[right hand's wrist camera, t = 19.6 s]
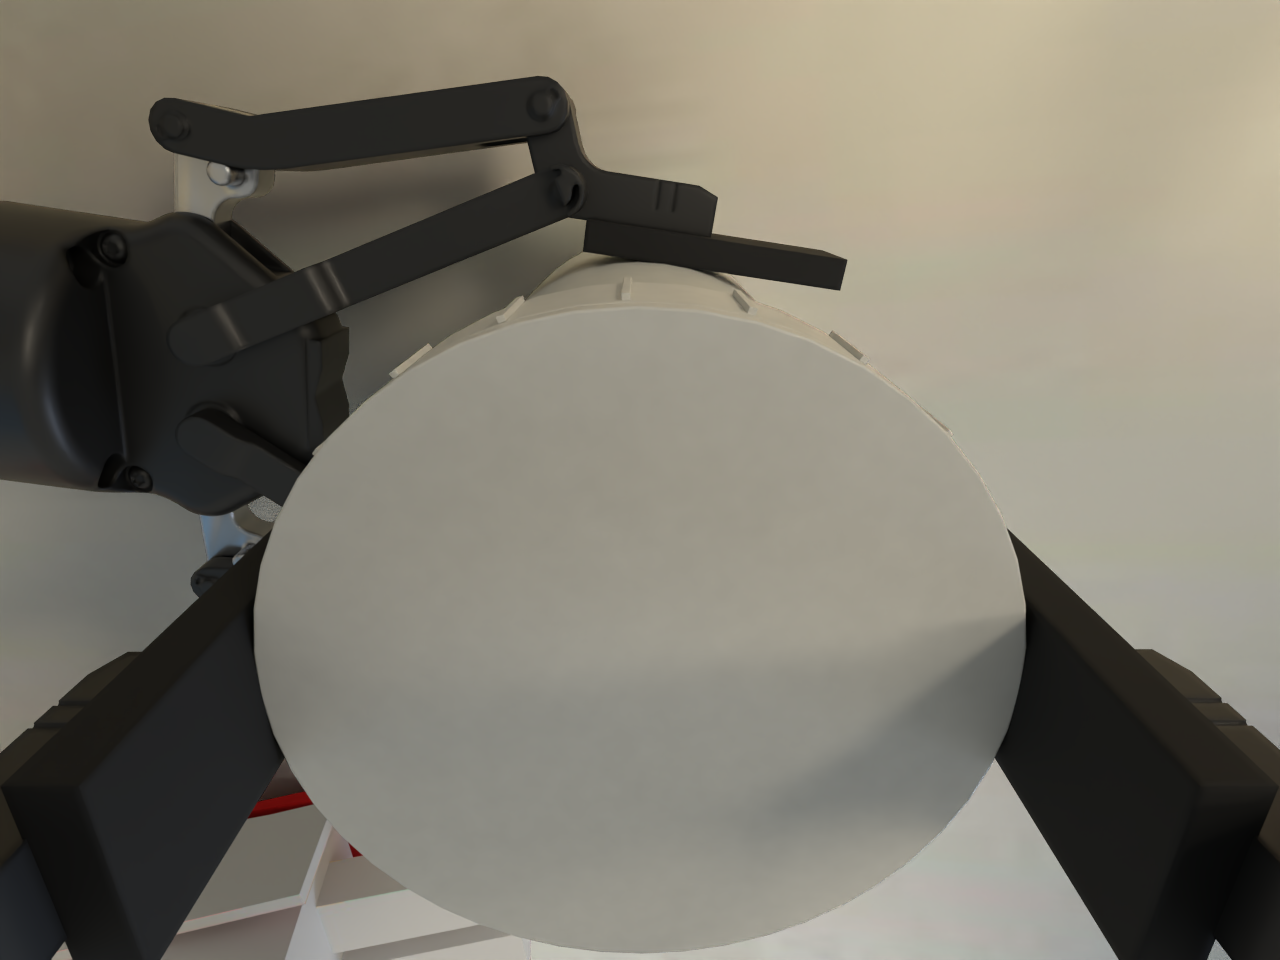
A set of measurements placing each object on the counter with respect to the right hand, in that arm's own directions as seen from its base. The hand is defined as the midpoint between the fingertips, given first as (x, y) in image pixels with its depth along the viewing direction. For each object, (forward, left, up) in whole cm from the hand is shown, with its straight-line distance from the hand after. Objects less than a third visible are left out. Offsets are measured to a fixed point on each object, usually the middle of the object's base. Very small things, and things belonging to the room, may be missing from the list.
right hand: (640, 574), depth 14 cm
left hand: (-3, +3, -8) cm, 9 cm away
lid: (0, 0, +3) cm, 3 cm away
